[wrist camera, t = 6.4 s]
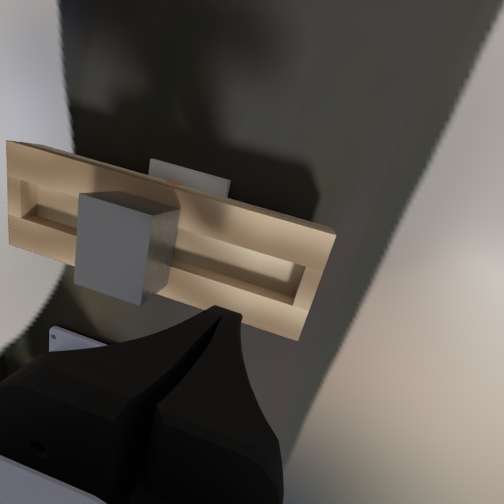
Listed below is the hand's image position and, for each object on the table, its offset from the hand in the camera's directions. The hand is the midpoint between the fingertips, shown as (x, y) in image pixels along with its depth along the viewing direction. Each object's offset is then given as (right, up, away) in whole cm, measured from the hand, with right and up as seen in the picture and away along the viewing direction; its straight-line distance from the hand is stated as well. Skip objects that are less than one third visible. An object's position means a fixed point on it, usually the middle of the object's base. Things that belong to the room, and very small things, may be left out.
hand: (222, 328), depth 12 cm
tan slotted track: (-4, +5, +9) cm, 11 cm away
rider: (-5, +4, +6) cm, 9 cm away
